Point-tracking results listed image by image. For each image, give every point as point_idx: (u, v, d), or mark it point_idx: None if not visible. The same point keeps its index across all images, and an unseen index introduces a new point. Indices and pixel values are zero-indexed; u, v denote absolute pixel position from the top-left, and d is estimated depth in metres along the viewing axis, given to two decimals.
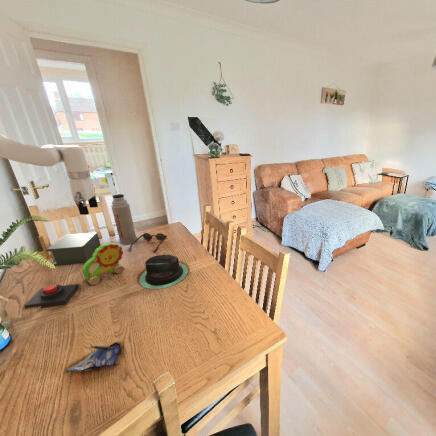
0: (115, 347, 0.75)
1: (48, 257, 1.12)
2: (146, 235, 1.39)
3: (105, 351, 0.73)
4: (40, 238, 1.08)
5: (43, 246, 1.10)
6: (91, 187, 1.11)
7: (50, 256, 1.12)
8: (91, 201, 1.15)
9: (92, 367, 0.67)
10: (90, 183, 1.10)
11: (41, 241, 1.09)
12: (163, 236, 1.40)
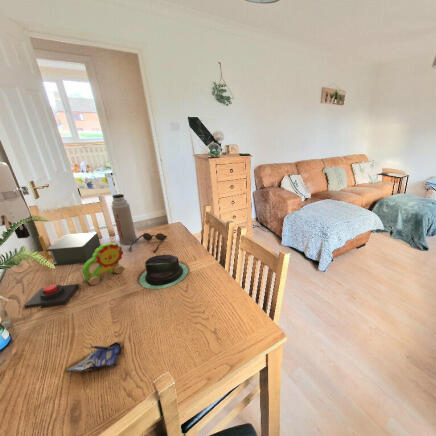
0: (115, 347, 0.75)
1: (48, 257, 1.12)
2: (146, 235, 1.39)
3: (105, 351, 0.73)
4: (40, 238, 1.08)
5: (43, 246, 1.10)
6: (23, 208, 0.97)
7: (50, 256, 1.12)
8: None
9: (92, 367, 0.67)
10: (21, 204, 0.96)
11: (41, 241, 1.09)
12: (163, 236, 1.40)
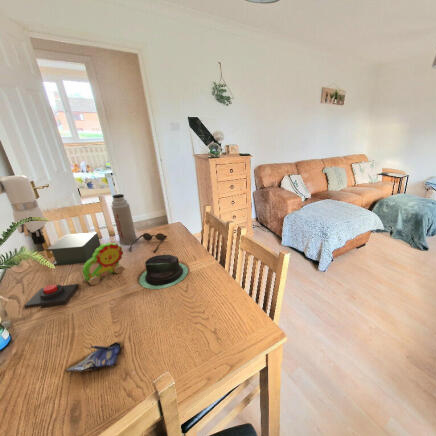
0: (115, 347, 0.75)
1: (49, 256, 1.13)
2: (146, 235, 1.39)
3: (105, 351, 0.73)
4: None
5: (45, 245, 1.11)
6: None
7: (51, 255, 1.13)
8: None
9: (92, 367, 0.67)
10: (38, 213, 1.05)
11: None
12: (163, 236, 1.40)
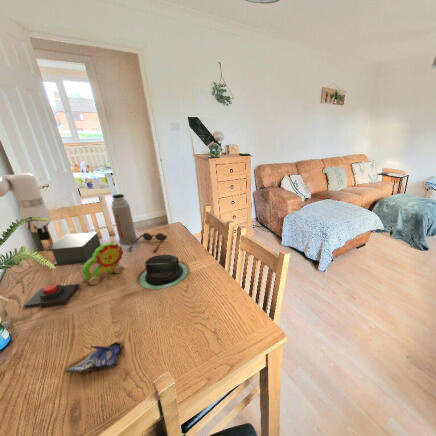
0: (115, 347, 0.75)
1: None
2: (146, 235, 1.39)
3: (105, 351, 0.73)
4: None
5: (50, 241, 1.14)
6: (45, 213, 1.09)
7: None
8: None
9: (92, 367, 0.67)
10: (44, 210, 1.09)
11: None
12: (163, 236, 1.40)
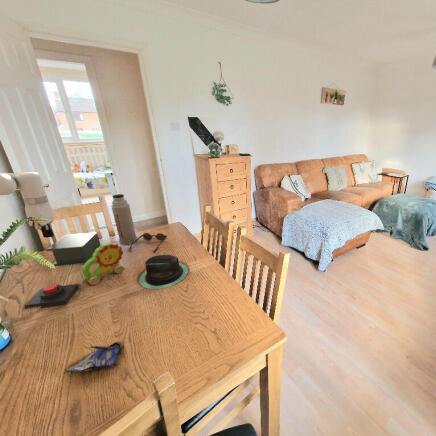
0: (115, 347, 0.75)
1: None
2: (146, 235, 1.39)
3: (105, 351, 0.73)
4: None
5: (53, 238, 1.17)
6: (50, 211, 1.12)
7: None
8: None
9: (92, 367, 0.67)
10: (48, 208, 1.11)
11: None
12: (163, 236, 1.40)
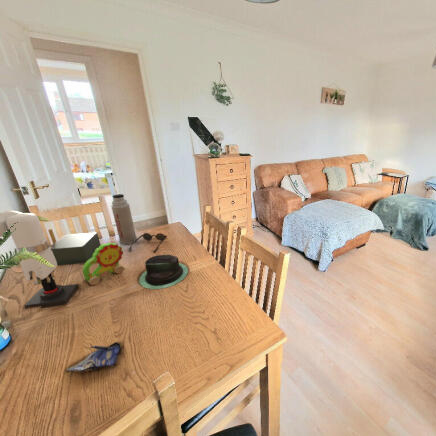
0: (115, 347, 0.75)
1: None
2: (146, 235, 1.39)
3: (105, 351, 0.73)
4: (50, 231, 1.15)
5: (53, 239, 1.16)
6: (51, 259, 0.90)
7: None
8: None
9: (92, 367, 0.67)
10: (49, 255, 0.89)
11: (51, 234, 1.15)
12: (163, 236, 1.40)
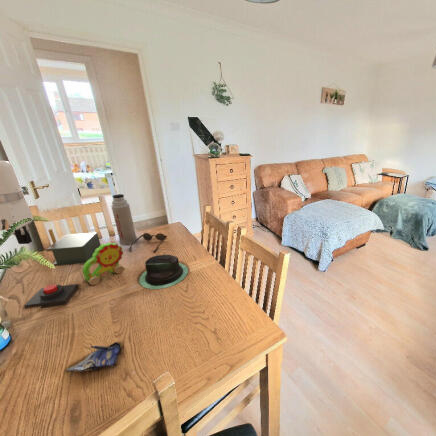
0: (115, 347, 0.75)
1: None
2: (146, 235, 1.39)
3: (105, 351, 0.73)
4: (50, 231, 1.15)
5: (53, 239, 1.16)
6: (26, 211, 0.88)
7: None
8: None
9: (92, 367, 0.67)
10: (24, 206, 0.88)
11: (51, 234, 1.15)
12: (163, 236, 1.40)
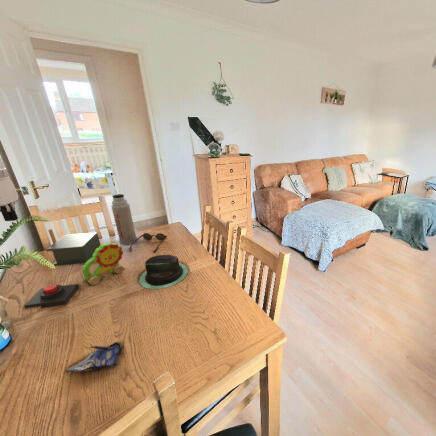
0: (115, 347, 0.75)
1: None
2: (146, 235, 1.39)
3: (105, 351, 0.73)
4: (50, 231, 1.15)
5: (53, 239, 1.16)
6: (11, 189, 0.93)
7: None
8: None
9: (92, 367, 0.67)
10: (9, 184, 0.92)
11: (51, 234, 1.15)
12: (163, 236, 1.40)
